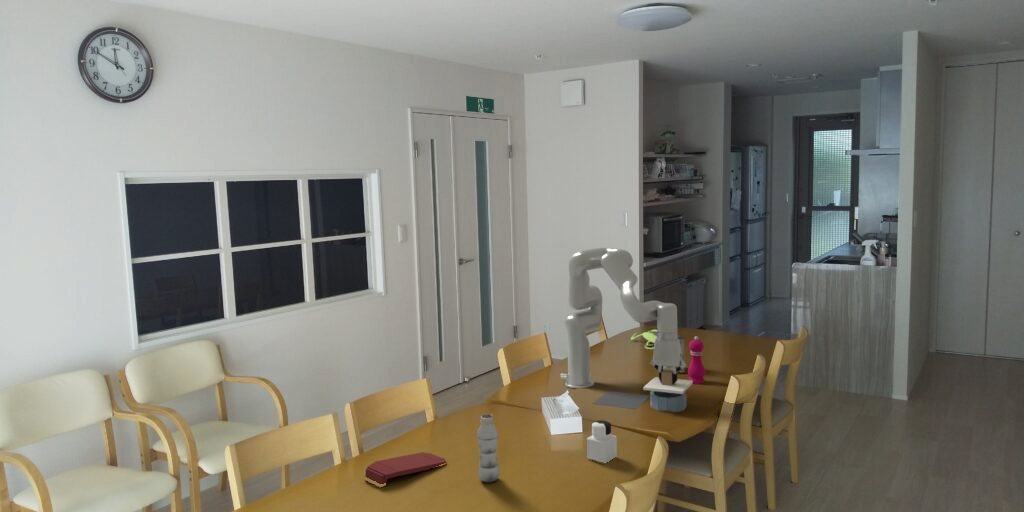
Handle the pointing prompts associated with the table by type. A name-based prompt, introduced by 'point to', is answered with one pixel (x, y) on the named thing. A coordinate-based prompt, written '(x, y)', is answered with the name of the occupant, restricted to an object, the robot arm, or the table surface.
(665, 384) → the cover
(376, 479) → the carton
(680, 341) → the coffee box
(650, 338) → the figurine
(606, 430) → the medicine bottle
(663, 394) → the bowl
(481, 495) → the table surface
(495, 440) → the plastic bottle
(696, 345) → the pepper mill
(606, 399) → the mat
